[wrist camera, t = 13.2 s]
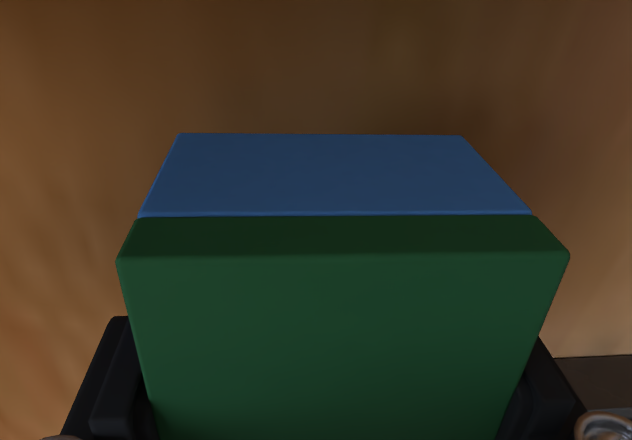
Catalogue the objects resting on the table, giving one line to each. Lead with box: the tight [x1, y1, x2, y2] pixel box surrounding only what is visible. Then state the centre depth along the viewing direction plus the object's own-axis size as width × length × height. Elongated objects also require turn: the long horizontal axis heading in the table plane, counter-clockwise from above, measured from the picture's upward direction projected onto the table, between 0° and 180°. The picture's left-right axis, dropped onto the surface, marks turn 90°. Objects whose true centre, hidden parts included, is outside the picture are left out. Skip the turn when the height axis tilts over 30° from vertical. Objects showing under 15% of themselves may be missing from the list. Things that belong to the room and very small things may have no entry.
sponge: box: [115, 133, 570, 440], centre depth 9 cm, size 6×8×4 cm
